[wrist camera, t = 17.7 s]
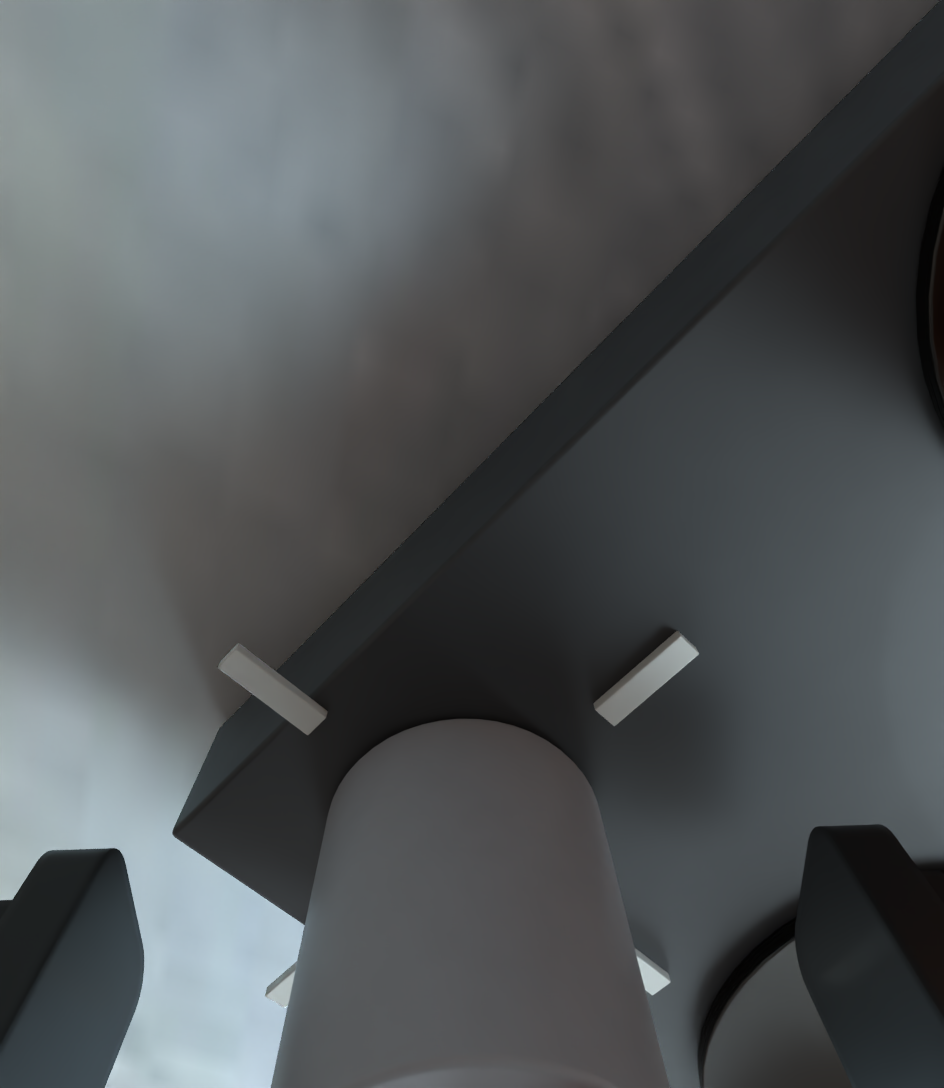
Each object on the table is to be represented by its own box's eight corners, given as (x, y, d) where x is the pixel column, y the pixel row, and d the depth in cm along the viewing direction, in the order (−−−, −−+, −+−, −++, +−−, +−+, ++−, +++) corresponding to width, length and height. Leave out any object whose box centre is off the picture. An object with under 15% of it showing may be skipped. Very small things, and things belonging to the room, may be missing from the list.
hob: (115, 735, 13) (38, 852, 11) (1206, -418, 9) (1509, -674, 6) (724, 1161, 17) (770, 1318, 15) (1697, 524, 13) (2001, 597, 10)
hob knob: (471, 978, 12) (484, 1446, 7) (271, 842, 11) (142, 1281, 6) (656, 825, 11) (803, 1248, 6) (455, 662, 10) (459, 1023, 6)
